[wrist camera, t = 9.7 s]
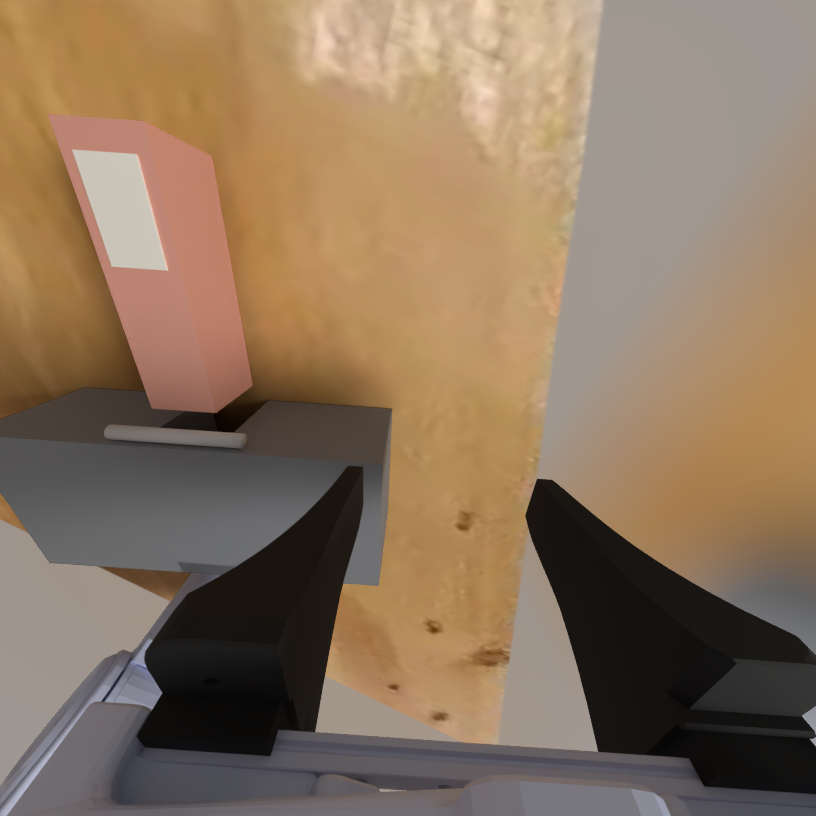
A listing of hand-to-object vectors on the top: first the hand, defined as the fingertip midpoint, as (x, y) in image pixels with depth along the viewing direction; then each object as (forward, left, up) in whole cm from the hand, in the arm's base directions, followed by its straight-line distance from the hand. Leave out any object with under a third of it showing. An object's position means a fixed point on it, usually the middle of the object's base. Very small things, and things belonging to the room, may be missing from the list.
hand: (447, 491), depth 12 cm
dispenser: (-6, +14, -9) cm, 18 cm away
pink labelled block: (+7, +14, -8) cm, 18 cm away
